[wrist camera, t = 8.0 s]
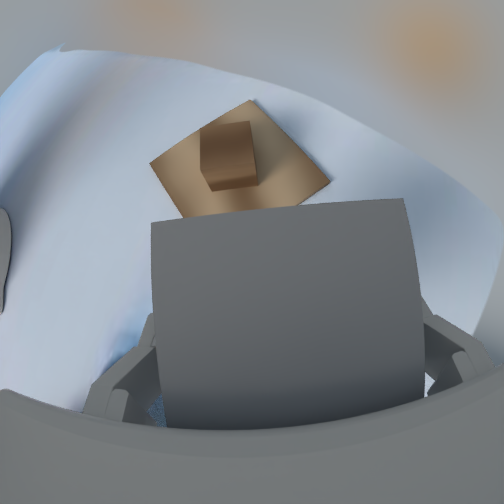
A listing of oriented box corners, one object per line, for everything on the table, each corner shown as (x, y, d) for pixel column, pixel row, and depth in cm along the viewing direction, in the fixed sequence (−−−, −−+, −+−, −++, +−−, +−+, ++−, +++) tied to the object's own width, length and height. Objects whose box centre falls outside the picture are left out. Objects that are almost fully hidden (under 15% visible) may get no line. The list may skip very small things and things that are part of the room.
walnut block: (258, 185, 23) (254, 162, 19) (211, 191, 23) (200, 170, 20) (253, 147, 24) (249, 120, 20) (210, 153, 24) (199, 128, 20)
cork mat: (214, 263, 23) (213, 263, 22) (150, 165, 25) (149, 163, 25) (329, 183, 23) (330, 181, 23) (250, 101, 26) (250, 99, 25)
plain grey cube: (349, 378, 13) (420, 438, 5) (224, 391, 13) (175, 466, 5) (338, 255, 14) (402, 198, 6) (214, 268, 15) (150, 222, 7)
